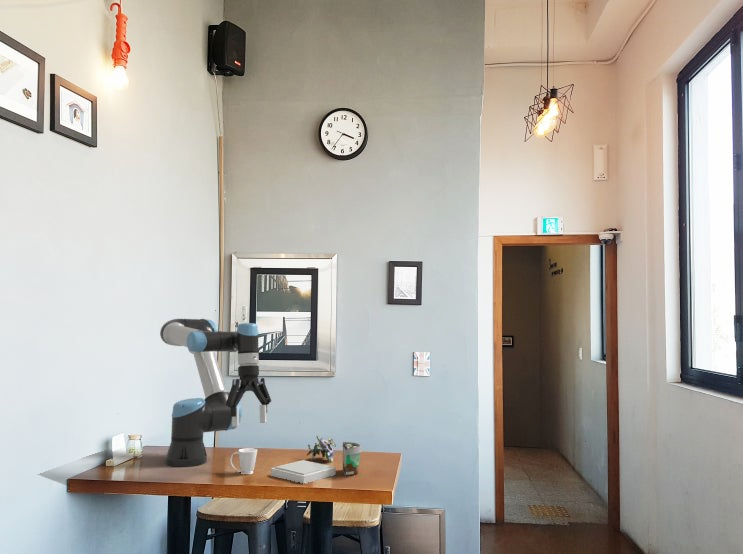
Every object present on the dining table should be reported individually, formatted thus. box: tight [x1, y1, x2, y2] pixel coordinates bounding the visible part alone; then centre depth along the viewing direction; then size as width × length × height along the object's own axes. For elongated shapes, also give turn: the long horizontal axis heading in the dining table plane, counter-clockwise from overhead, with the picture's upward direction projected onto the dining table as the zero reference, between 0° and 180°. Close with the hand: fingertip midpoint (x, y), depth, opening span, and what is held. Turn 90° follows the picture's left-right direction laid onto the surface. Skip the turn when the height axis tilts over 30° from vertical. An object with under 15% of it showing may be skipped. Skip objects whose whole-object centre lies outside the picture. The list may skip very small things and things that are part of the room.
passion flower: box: [306, 435, 337, 463], centre depth 234 cm, size 11×11×12 cm
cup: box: [229, 447, 258, 475], centre depth 214 cm, size 7×10×8 cm
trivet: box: [270, 459, 336, 485], centre depth 212 cm, size 16×16×3 cm
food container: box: [342, 441, 363, 477], centre depth 216 cm, size 12×6×10 cm, turn 9°
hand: (249, 424), depth 217 cm, fingers open, 13 cm apart
